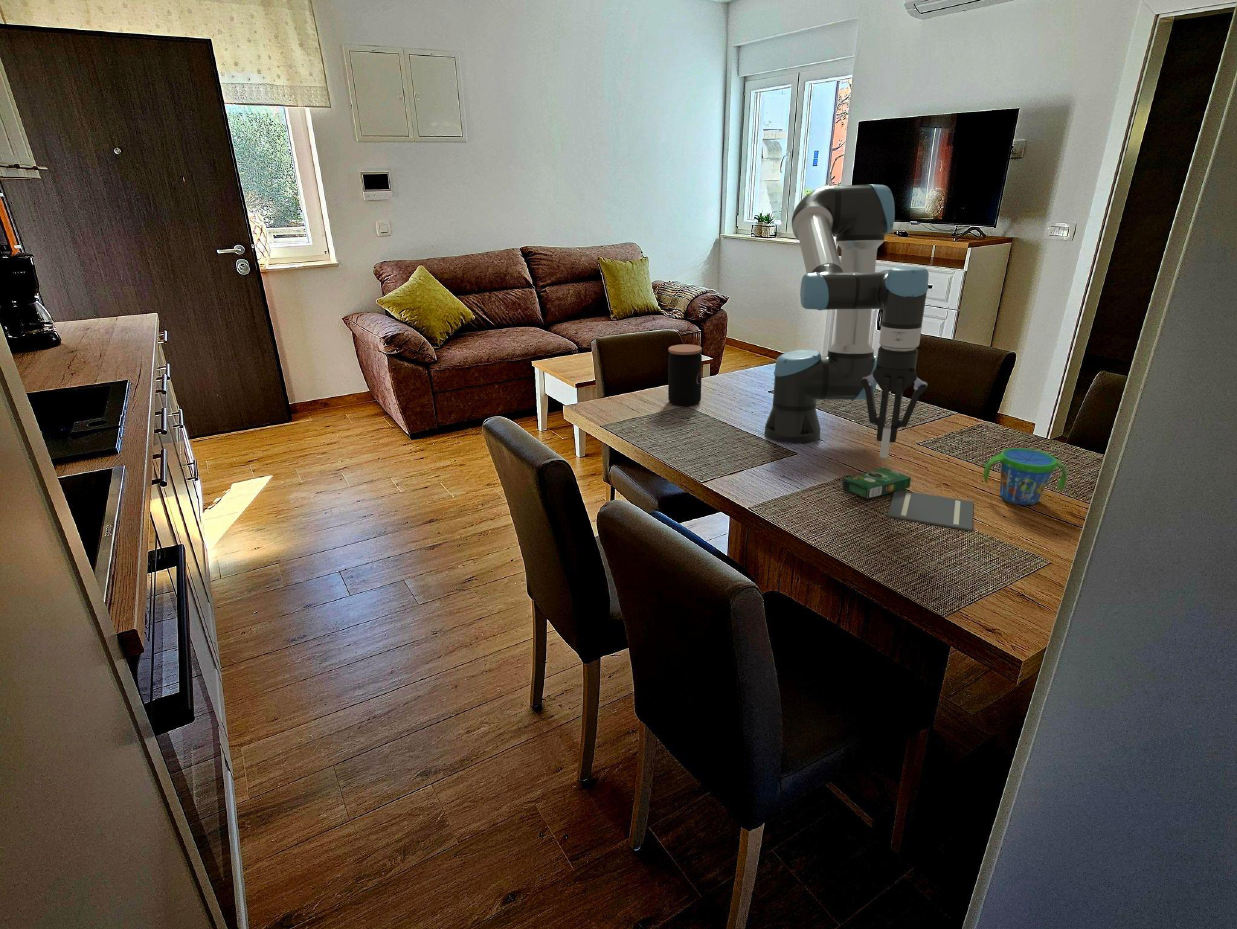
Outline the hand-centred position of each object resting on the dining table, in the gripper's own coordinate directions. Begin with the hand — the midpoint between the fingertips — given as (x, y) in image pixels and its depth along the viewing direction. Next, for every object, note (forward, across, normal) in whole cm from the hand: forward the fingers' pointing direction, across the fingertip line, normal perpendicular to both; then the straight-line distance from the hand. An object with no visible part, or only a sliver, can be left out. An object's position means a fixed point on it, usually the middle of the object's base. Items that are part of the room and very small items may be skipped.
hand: (884, 455), depth 144 cm
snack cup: (+11, +28, +13) cm, 33 cm away
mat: (+11, +11, 0) cm, 15 cm away
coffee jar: (+11, -66, +52) cm, 85 cm away
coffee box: (+9, -5, +1) cm, 11 cm away
